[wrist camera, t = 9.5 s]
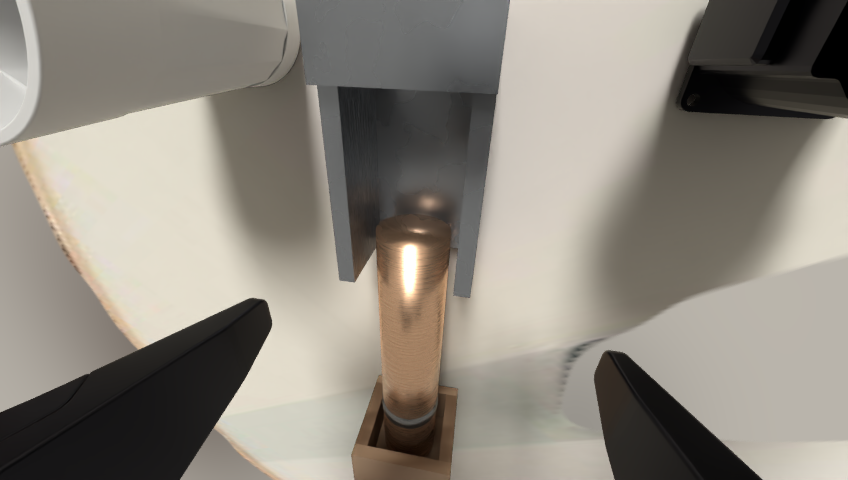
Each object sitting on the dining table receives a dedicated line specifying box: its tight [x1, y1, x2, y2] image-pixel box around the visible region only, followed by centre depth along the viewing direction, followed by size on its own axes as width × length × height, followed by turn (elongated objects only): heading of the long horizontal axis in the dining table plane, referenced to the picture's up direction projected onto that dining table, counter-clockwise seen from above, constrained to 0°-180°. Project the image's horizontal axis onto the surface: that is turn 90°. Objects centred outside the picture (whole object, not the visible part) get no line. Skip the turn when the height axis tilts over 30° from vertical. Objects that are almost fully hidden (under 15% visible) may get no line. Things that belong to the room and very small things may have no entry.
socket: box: [351, 375, 458, 480], centre depth 26 cm, size 7×4×7 cm, turn 88°
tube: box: [376, 214, 451, 457], centre depth 22 cm, size 19×4×4 cm, turn 178°
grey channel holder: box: [295, 0, 510, 298], centre depth 15 cm, size 12×7×7 cm, turn 178°
